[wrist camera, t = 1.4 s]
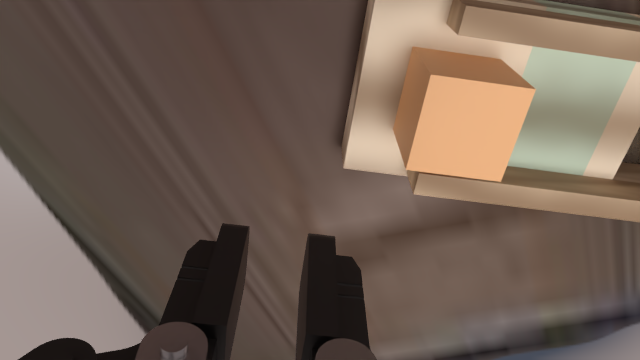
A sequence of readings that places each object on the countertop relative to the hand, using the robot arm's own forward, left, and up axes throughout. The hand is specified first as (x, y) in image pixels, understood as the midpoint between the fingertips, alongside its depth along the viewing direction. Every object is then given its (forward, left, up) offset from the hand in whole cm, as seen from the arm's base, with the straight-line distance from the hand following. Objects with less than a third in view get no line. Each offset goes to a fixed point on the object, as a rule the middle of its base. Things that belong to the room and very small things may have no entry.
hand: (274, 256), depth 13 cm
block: (0, +8, -16) cm, 18 cm away
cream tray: (0, +15, -19) cm, 24 cm away
